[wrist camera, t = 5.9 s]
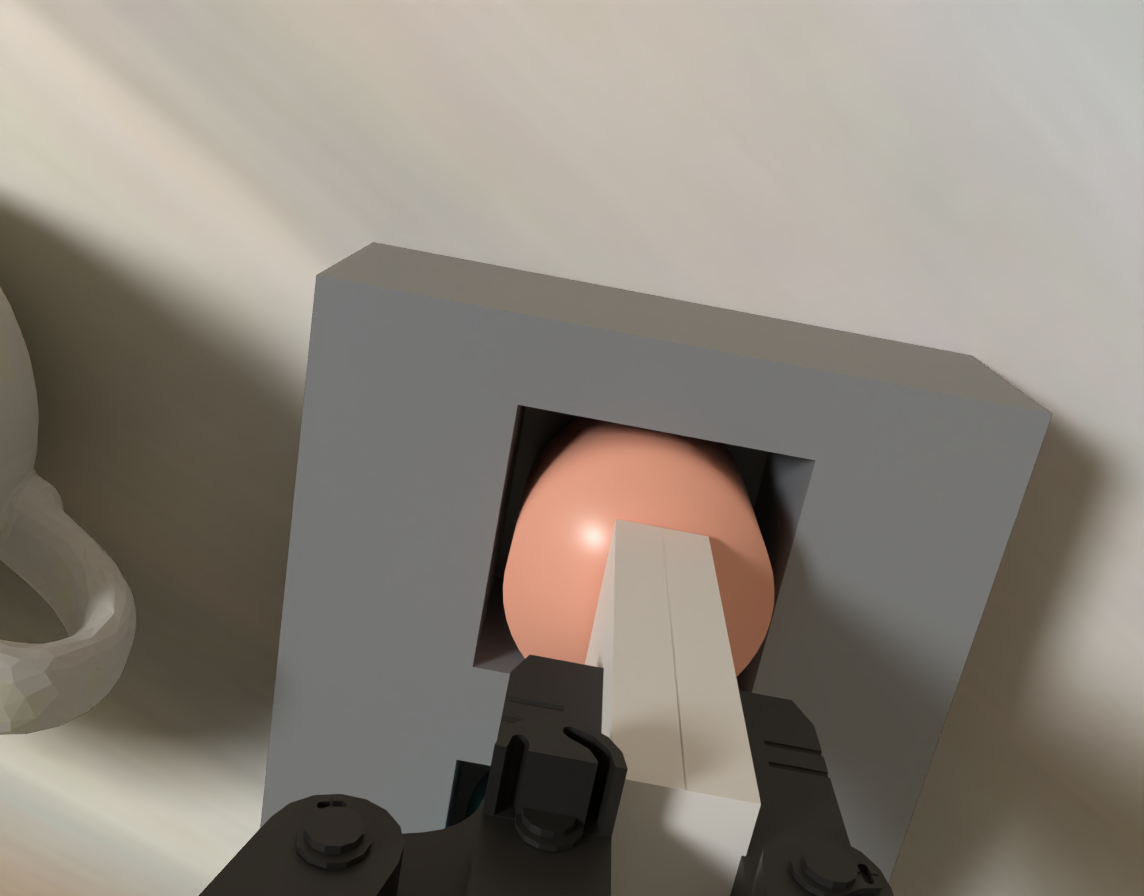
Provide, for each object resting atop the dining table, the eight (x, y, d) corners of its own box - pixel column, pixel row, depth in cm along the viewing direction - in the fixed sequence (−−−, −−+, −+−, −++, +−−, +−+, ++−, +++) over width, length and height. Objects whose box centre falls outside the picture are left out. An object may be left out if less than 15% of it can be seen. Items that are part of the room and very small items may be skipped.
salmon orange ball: (506, 590, 21) (483, 688, 17) (543, 384, 20) (526, 446, 16) (719, 629, 21) (739, 735, 18) (771, 426, 20) (804, 498, 16)
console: (275, 1070, 27) (220, 1226, 24) (373, 242, 20) (316, 275, 16) (720, 1148, 27) (737, 1316, 24) (971, 355, 20) (1052, 413, 17)
